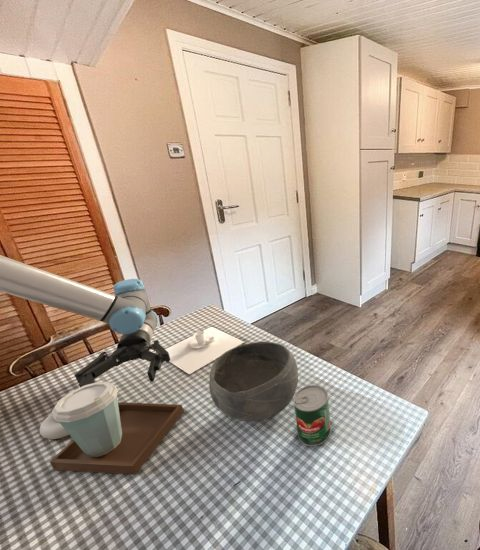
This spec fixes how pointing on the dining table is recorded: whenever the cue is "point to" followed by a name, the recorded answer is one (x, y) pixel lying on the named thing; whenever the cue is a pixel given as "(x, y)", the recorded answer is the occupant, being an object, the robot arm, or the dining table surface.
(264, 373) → the bowl
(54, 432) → the donut
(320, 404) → the canned tomato
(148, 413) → the tray
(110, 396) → the disposable coffee cup
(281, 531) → the dining table surface
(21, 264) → the robot arm
